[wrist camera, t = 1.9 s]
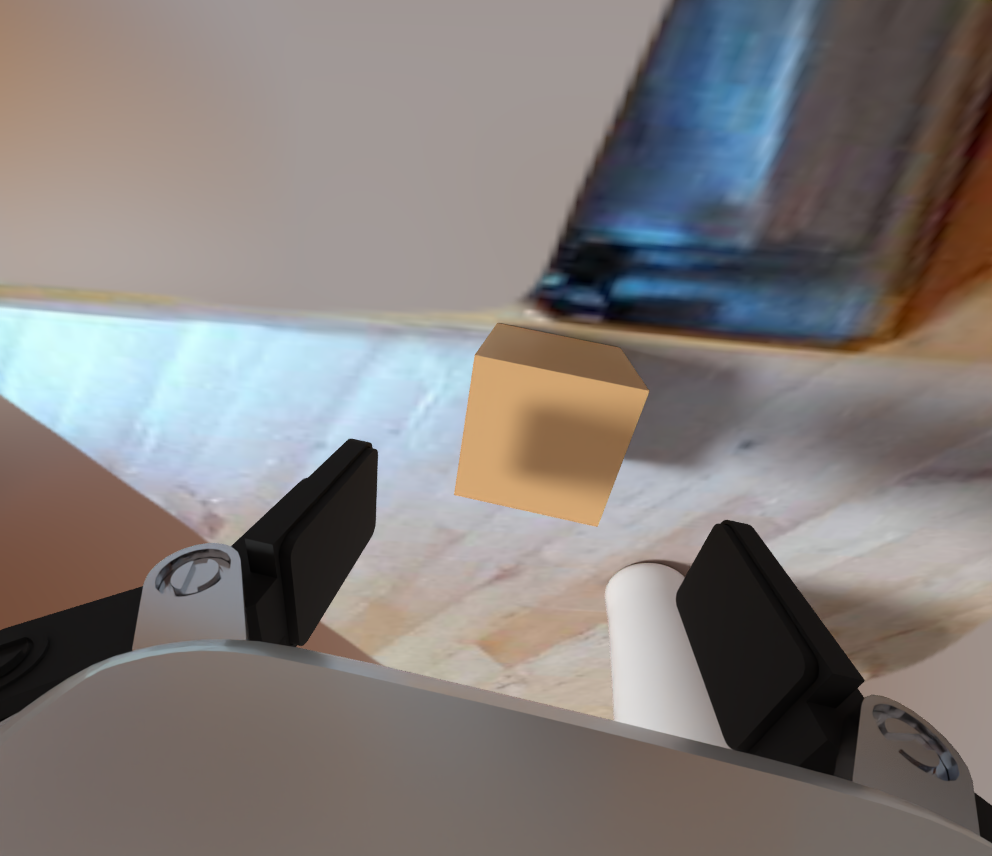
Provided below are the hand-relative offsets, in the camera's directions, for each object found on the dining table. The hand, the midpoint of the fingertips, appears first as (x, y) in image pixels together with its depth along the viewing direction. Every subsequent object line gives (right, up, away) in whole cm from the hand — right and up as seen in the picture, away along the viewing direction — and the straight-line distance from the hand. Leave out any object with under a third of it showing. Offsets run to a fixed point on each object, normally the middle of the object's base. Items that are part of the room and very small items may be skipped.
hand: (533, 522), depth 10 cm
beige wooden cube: (+1, +4, +9) cm, 10 cm away
